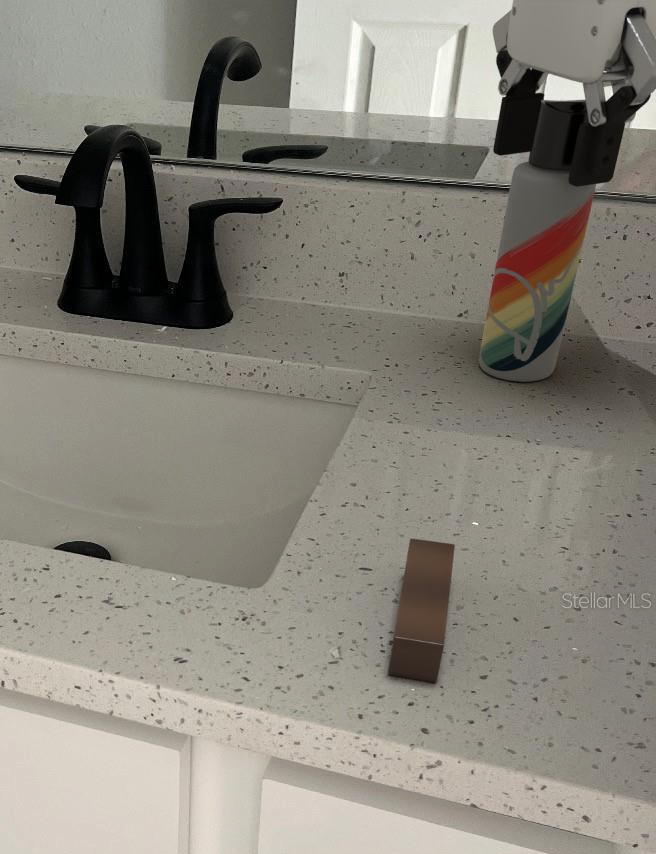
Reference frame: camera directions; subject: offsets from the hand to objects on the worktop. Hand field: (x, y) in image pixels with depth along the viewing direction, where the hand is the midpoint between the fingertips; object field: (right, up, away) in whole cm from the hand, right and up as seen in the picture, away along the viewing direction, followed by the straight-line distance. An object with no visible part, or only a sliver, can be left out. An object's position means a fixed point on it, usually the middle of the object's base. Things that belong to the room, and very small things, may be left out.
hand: (550, 166), depth 85 cm
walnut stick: (-15, -32, -18) cm, 40 cm away
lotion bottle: (+1, -13, +9) cm, 16 cm away
